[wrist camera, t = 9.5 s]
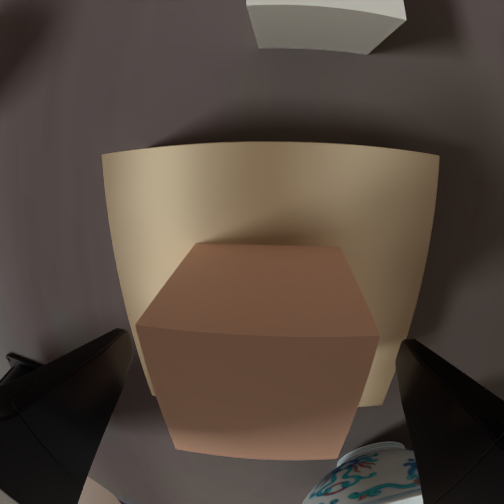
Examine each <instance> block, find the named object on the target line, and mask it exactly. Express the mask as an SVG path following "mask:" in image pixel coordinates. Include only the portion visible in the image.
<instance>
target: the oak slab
mask: <svg viewBox="0 0 504 504" xmlns="http://www.w3.org/2000/svg"><path fill="white" fill-rule="evenodd" d="M439 157H440V156H439V155H433V154H428V153H422V152H415V151H409V150H402V149H394V148H386V147H376V146H365V145H353V144H339V143H322V142H293V141H244V142H215V143H197V144H183V145H171V146H160V147H150V148H142V149H134V150H127V151H121V152H114V153H108V154H102V163H103V175H104V185H105V194H106V203H107V210H108V218H109V225H110V231H111V237H112V243H113V249H114V255H115V260H116V265H117V270H118V275H119V280H120V285H121V289H122V294H123V298H124V302H125V306H126V310H127V314H128V318H129V322H130V326H131V330H132V333H133V337H134V341H135V344H136V347H137V351H138V354H139V357H140V361H141V364H142V367H143V370H144V373H145V376H146V379H147V382H148V385H149V388H150V391H151V394H152V396H156V395H155V392H154V389H153V386H152V383H151V380H150V376H149V373H148V370H147V367H146V363H145V360H144V357H143V353H142V350H141V346H140V342H139V339H138V335H137V331H136V327H135V324H136V323H137V322H138V320H139V319H140V317H141V316H142V315H143V313H144V312H145V310H146V309H147V308H148V306H149V305H150V303H151V302H152V301H153V299H154V298H155V297H156V295H157V294H158V292H159V291H160V290H161V288H162V287H163V286H164V284H165V283H166V282H167V280H168V279H169V278H170V276H171V275H172V274H173V272H174V271H175V270H176V268H177V267H178V266H179V264H180V263H181V262H182V260H183V259H184V258H185V256H186V255H187V254H188V253H189V251H190V250H191V249H192V247H193V246H194V245H195V244H196V243H197V244H248V245H293V246H333V247H340V248H341V250H342V252H343V254H344V256H345V258H346V261H347V263H348V265H349V267H350V269H351V271H352V273H353V275H354V277H355V279H356V282H357V284H358V286H359V288H360V290H361V292H362V295H363V297H364V299H365V301H366V304H367V306H368V308H369V310H370V313H371V315H372V317H373V319H374V322H375V324H376V326H377V329H378V331H379V334H380V339H379V342H378V346H377V350H376V353H375V356H374V360H373V363H372V366H371V370H370V373H369V376H368V379H367V382H366V385H365V388H364V391H363V394H362V397H361V400H360V403H359V405H358V407H366V406H377V405H382V403H383V401H384V398H385V396H386V394H387V391H388V389H389V386H390V384H391V381H392V378H393V376H394V373H395V370H396V366H395V360H396V356H397V353H398V350H399V347H400V344H401V342H402V340H404V339H406V338H407V335H408V332H409V328H410V325H411V322H412V318H413V314H414V311H415V307H416V303H417V300H418V296H419V292H420V287H421V283H422V279H423V274H424V270H425V265H426V260H427V255H428V250H429V244H430V238H431V232H432V226H433V219H434V211H435V203H436V195H437V185H438V173H439Z"/></svg>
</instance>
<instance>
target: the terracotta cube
mask: <svg viewBox="0 0 504 504" xmlns="http://www.w3.org/2000/svg"><path fill="white" fill-rule="evenodd" d="M135 327H136V331H137V335H138V339H139V342H140V346H141V350H142V353H143V357H144V360H145V363H146V367H147V370H148V373H149V376H150V380H151V383H152V386H153V389H154V392H155V395H156V398H157V401H158V403H159V406H160V409H161V412H162V415H163V417H164V420H165V423H166V425H167V428H168V431H169V433H170V436H171V438H172V441H173V443H174V446H175V448H176V449H179V450H185V451H191V452H197V453H204V454H211V455H219V456H227V457H237V458H250V459H267V460H323V459H337V457H338V455H339V453H340V451H341V448H342V446H343V444H344V441H345V439H346V436H347V434H348V432H349V429H350V427H351V424H352V421H353V419H354V416H355V414H356V411H357V408H358V405H359V403H360V400H361V397H362V394H363V391H364V388H365V385H366V382H367V379H368V376H369V373H370V370H371V366H372V363H373V360H374V356H375V353H376V350H377V346H378V342H379V339H380V334H379V331H378V329H377V326H376V324H375V322H374V319H373V317H372V315H371V313H370V310H369V308H368V306H367V304H366V301H365V299H364V297H363V295H362V292H361V290H360V288H359V286H358V284H357V282H356V279H355V277H354V275H353V273H352V271H351V269H350V267H349V265H348V263H347V261H346V258H345V256H344V254H343V252H342V250H341V248H340V247H333V246H293V245H248V244H197V243H196V244H195V245H194V246H193V247H192V249H191V250H190V251H189V253H188V254H187V255H186V256H185V258H184V259H183V260H182V262H181V263H180V264H179V266H178V267H177V268H176V270H175V271H174V272H173V274H172V275H171V276H170V278H169V279H168V280H167V282H166V283H165V284H164V286H163V287H162V288H161V290H160V291H159V292H158V294H157V295H156V297H155V298H154V299H153V301H152V302H151V303H150V305H149V306H148V308H147V309H146V310H145V312H144V313H143V315H142V316H141V317H140V319H139V320H138V322H137V323H136V324H135Z"/></svg>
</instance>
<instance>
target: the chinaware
mask: <svg viewBox="0 0 504 504" xmlns="http://www.w3.org/2000/svg"><path fill="white" fill-rule="evenodd" d="M302 504H423V498H422V492H421V487H420V481H419V476H418V470H417V465H416V461H415V456H414V451H413V450H412V449H405V447H404V445H403V444H401V443H398V442H393V441H386V442H378V443H373V444H369V445H366V446H363V447H360V448H357V449H355V450H353V451H351V452H349V453H347V454H346V455H344V456H343V457H342V458H341V459H340V460H339V461H338V463H337V468H336V469H334V470H333V471H331V472H330V473H329V474H327V475H326V476H325V477H324V478H323V479H322V480H321V481H319V482H318V483H317V485H316V486H315V487H314V488H313V489H312V490H311V491H310V493H309V494H308V495H307V497H306V498H305V500H304V501H303V503H302Z"/></svg>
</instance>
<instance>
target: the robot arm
mask: <svg viewBox="0 0 504 504" xmlns="http://www.w3.org/2000/svg"><path fill="white" fill-rule="evenodd" d="M133 355H134V348H133V344H132V341H131V338H130V334H129V332H128V330H126V329H120V328H116V329H114V330H112V331H110V332H108V333H106V334H104V335H102V336H101V337H99V338H97V339H95V340H93V341H91V342H89V343H87V344H85V345H83V346H81V347H79V348H77V349H75V350H73V351H71V352H69V353H67V354H65V355H64V356H62V357H60V358H58V359H56V360H54V361H52V362H50V363H48V364H46V365H44V366H40V365H38V364H35V363H32V362H29V361H27V360H24V359H22V358H19V357H17V356H14V355H12V354H9V353H8V354H7V355H6V358H7V360H8V362H9V364H10V366H11V369H10V370H9V371H8V372H7V373H6V374H5V376H4V377H3V378H2V379H1V380H0V504H78V501H79V498H80V495H81V492H82V490H83V486H84V484H85V481H86V478H87V475H88V473H89V470H90V467H91V465H92V462H93V460H94V457H95V454H96V452H97V449H98V447H99V444H100V442H101V439H102V437H103V434H104V432H105V429H106V427H107V425H108V422H109V420H110V417H111V415H112V413H113V410H114V408H115V406H116V403H117V401H118V399H119V396H120V394H121V392H122V389H123V386H124V383H125V380H126V377H127V373H128V370H129V367H130V364H131V361H132V358H133ZM395 366H396V371H397V377H398V383H399V389H400V396H401V402H402V406H403V410H404V414H405V418H406V422H407V426H408V430H409V434H410V438H411V442H412V447H413V451H414V456H415V461H416V465H417V470H418V476H419V481H420V487H421V492H422V498H423V504H504V401H503V400H502V399H500V398H499V397H497V396H496V395H494V394H493V393H491V392H490V391H489V390H486V389H485V388H484V387H483V386H482V385H480V384H479V383H477V382H476V381H474V380H473V379H472V378H470V377H469V376H467V375H466V374H465V373H463V372H462V371H460V370H459V369H457V368H456V367H455V366H453V365H452V364H450V363H449V362H447V361H446V360H444V359H443V358H442V357H440V356H439V355H437V354H436V353H434V352H433V351H431V350H430V349H429V348H427V347H426V346H424V345H423V344H421V343H420V342H418V341H417V340H415V339H404V340H402V342H401V344H400V347H399V350H398V353H397V356H396V360H395Z"/></svg>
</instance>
